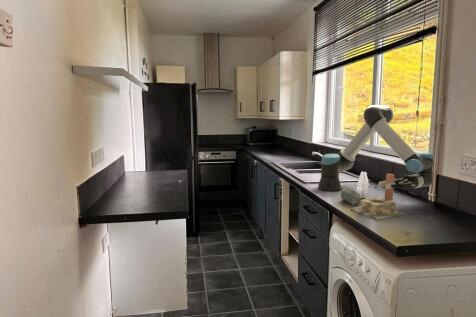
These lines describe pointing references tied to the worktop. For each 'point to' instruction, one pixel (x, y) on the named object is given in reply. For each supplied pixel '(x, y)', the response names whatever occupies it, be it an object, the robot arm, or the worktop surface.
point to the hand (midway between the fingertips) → (382, 185)
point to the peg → (389, 191)
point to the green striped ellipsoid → (350, 196)
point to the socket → (377, 208)
